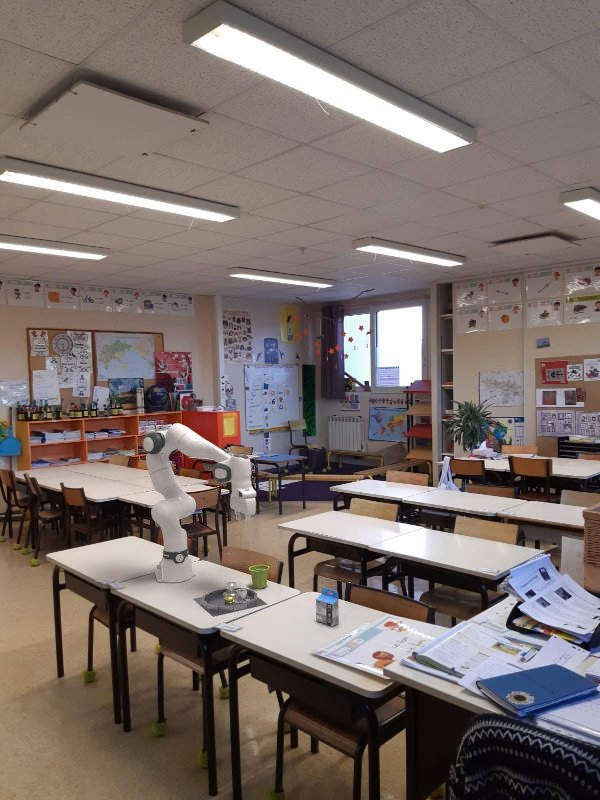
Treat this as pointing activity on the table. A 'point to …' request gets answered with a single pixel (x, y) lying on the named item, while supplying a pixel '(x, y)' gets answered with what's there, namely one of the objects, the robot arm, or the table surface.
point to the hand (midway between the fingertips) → (242, 521)
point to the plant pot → (259, 575)
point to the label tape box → (327, 607)
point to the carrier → (227, 600)
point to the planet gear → (241, 597)
